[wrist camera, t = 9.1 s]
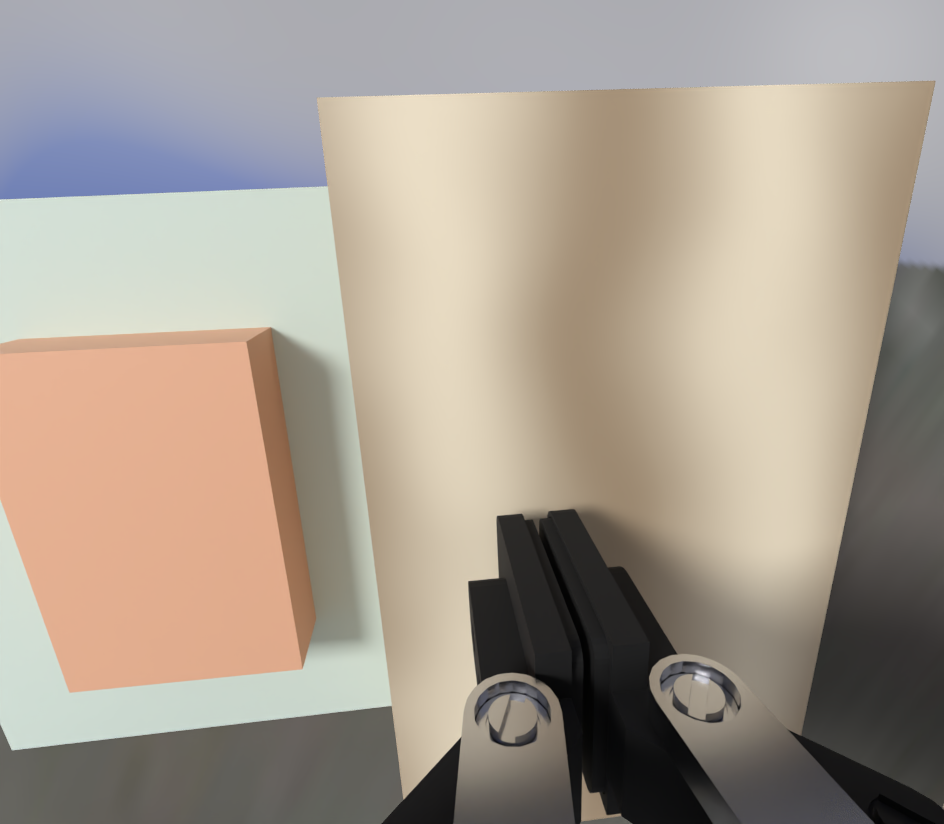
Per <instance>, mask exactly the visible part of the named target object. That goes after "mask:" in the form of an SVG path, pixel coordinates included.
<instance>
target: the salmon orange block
mask: <svg viewBox="0 0 944 824" xmlns="http://www.w3.org/2000/svg"><path fill="white" fill-rule="evenodd" d="M0 500H1V503H2V506H3V508H4V511H5V514H6V517H7V520H8V522H9V525H10V528H11V531H12V534H13V536H14V539H15V542H16V545H17V548H18V550H19V553H20V556H21V559H22V562H23V564H24V567H25V570H26V573H27V576H28V578H29V581H30V584H31V587H32V590H33V592H34V595H35V598H36V601H37V604H38V606H39V609H40V612H41V615H42V618H43V620H44V623H45V626H46V629H47V632H48V634H49V637H50V640H51V643H52V646H53V648H54V651H55V654H56V657H57V660H58V662H59V665H60V668H61V671H62V674H63V676H64V679H65V682H66V685H67V688H68V690H69V693H72V692H82V691H92V690H102V689H112V688H122V687H132V686H142V685H152V684H162V683H172V682H182V681H192V680H202V679H212V678H222V677H232V676H241V675H251V674H261V673H271V672H281V671H291V670H301V669H303V666H304V663H305V659H306V655H307V651H308V648H309V644H310V640H311V637H312V633H313V629H314V625H315V622H316V614H315V608H314V601H313V595H312V588H311V582H310V575H309V569H308V563H307V556H306V550H305V543H304V537H303V530H302V524H301V518H300V511H299V505H298V498H297V492H296V485H295V479H294V473H293V466H292V460H291V453H290V447H289V440H288V434H287V428H286V421H285V415H284V408H283V402H282V396H281V389H280V383H279V376H278V370H277V363H276V357H275V351H274V344H273V338H272V331H271V327H261V328H240V329H219V330H198V331H177V332H156V333H135V334H114V335H93V336H72V337H51V338H30V339H17V340H13V341H9V342H5V343H1V344H0Z"/></svg>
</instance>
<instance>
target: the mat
mask: <svg viewBox="0 0 944 824" xmlns="http://www.w3.org/2000/svg"><path fill="white" fill-rule="evenodd" d="M261 327H271V331H272V338H273V344H274V351H275V357H276V363H277V370H278V376H279V383H280V389H281V396H282V402H283V408H284V415H285V421H286V428H287V434H288V440H289V447H290V453H291V460H292V466H293V473H294V479H295V485H296V492H297V498H298V505H299V511H300V518H301V524H302V530H303V537H304V543H305V550H306V556H307V563H308V569H309V575H310V582H311V588H312V595H313V601H314V608H315V614H316V622H315V625H314V629H313V633H312V637H311V640H310V644H309V648H308V651H307V655H306V659H305V663H304V666H303V669H301V670H291V671H281V672H271V673H261V674H251V675H241V676H232V677H222V678H212V679H202V680H192V681H182V682H172V683H162V684H152V685H142V686H132V687H122V688H112V689H102V690H92V691H82V692H72V693H69V690H68V688H67V685H66V682H65V679H64V676H63V674H62V671H61V668H60V665H59V662H58V660H57V657H56V654H55V651H54V648H53V646H52V643H51V640H50V637H49V634H48V632H47V629H46V626H45V623H44V620H43V618H42V615H41V612H40V609H39V606H38V604H37V601H36V598H35V595H34V592H33V590H32V587H31V584H30V581H29V578H28V576H27V573H26V570H25V567H24V564H23V562H22V559H21V556H20V553H19V550H18V548H17V545H16V542H15V539H14V536H13V534H12V531H11V528H10V525H9V522H8V520H7V517H6V514H5V511H4V508H3V506H2V503H1V500H0V724H1V726H2V729H3V731H4V733H5V735H6V738H7V740H8V742H9V745H10V747H11V749H12V750H18V749H27V748H35V747H44V746H53V745H61V744H70V743H78V742H87V741H95V740H104V739H112V738H121V737H129V736H138V735H146V734H155V733H163V732H172V731H180V730H189V729H197V728H206V727H214V726H223V725H231V724H240V723H248V722H257V721H265V720H274V719H282V718H291V717H299V716H308V715H316V714H325V713H333V712H342V711H351V710H359V709H368V708H376V707H385V706H392V702H391V694H390V686H389V678H388V670H387V662H386V654H385V645H384V637H383V629H382V621H381V613H380V605H379V597H378V589H377V581H376V573H375V565H374V556H373V548H372V540H371V532H370V524H369V516H368V508H367V500H366V492H365V484H364V476H363V467H362V459H361V451H360V443H359V435H358V427H357V419H356V411H355V403H354V395H353V387H352V378H351V370H350V362H349V354H348V346H347V338H346V330H345V322H344V314H343V306H342V298H341V289H340V281H339V273H338V265H337V257H336V249H335V241H334V233H333V225H332V217H331V209H330V201H329V192H328V186H327V187H303V188H279V189H253V190H228V191H205V192H179V193H156V194H129V195H105V196H81V197H56V198H32V199H6V200H0V344H1V343H5V342H9V341H13V340H17V339H30V338H51V337H72V336H93V335H114V334H135V333H156V332H177V331H198V330H219V329H240V328H261Z"/></svg>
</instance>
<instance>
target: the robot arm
mask: <svg viewBox="0 0 944 824" xmlns="http://www.w3.org/2000/svg"><path fill="white" fill-rule="evenodd" d="M496 524H497V548H498V572H499V578H495V579H485V580H474V581H468V592H469V608H470V622H471V634H472V644H473V654H474V663H475V671H476V680H477V686H476V687H475V688H474V689H473V691H472V692H471V693H470V695H469V696H468V698H467V701H466V704H465V708H464V713H463V724H462V735H461V738H460V739H459V740H458V741H457V742H456V743H455V744H454V745H453V746H452V747H451V749H450V750H449V751H448V752H447V753H446V754H445V755H444V756H443V757H442V758H441V759H440V761H439V762H438V763H437V764H436V765H435V766H434V767H433V768H432V769H431V770H430V771H429V773H428V774H427V775H426V776H425V777H424V778H423V779H422V780H421V781H420V782H419V783H418V785H417V786H416V787H415V788H414V789H413V790H412V791H411V792H410V793H409V794H408V795H407V797H406V798H405V799H404V800H403V801H402V802H401V803H400V804H399V805H398V806H397V807H396V809H395V810H394V811H393V812H392V813H391V814H390V815H389V816H388V817H387V818H386V819H385V821H384V822H383V823H382V824H580V822H581V808H582V773H583V776H584V779H585V783H586V786H587V789H588V791H589V793H598V792H599V793H600V796H601V799H602V802H603V806H604V809H605V812H606V815H614V814H621V816H622V817H624V818H625V819H627V820H628V821H630V822H631V823H632V824H944V804H943V807H940V806H939V805H937V804H936V803H935V802H934V801H932V800H931V799H929V798H927V797H925V796H924V795H922V794H920V793H919V792H917V791H915V790H913V789H912V788H910V787H908V786H906V785H903V784H901V783H899V782H897V781H895V780H893V779H891V778H889V777H887V776H885V775H882V774H880V773H878V772H876V771H874V770H872V769H870V768H868V767H866V766H864V765H861V764H859V763H857V762H855V761H853V760H851V759H849V758H847V757H845V756H843V755H840V754H838V753H836V752H834V751H832V750H830V749H828V748H826V747H824V746H822V745H819V744H817V743H815V742H813V741H811V740H809V739H807V738H805V737H803V736H800V735H798V734H796V733H794V732H792V731H790V730H788V729H787V728H786V727H785V726H784V725H783V724H782V723H781V722H780V721H779V720H778V719H777V718H776V717H775V715H774V714H773V713H772V712H771V711H770V710H769V709H768V708H767V707H766V706H765V705H764V704H763V702H762V701H761V700H760V699H759V698H758V697H757V696H756V695H755V694H754V693H753V692H752V691H751V690H750V688H749V687H748V686H747V685H746V684H745V683H744V682H743V681H742V680H741V679H740V678H739V677H738V676H737V675H736V674H734V673H733V672H732V671H731V670H730V669H728V668H727V667H725V666H723V665H721V664H720V663H718V662H716V661H714V660H711V659H708V658H705V657H702V656H698V655H690V654H677V653H676V651H675V649H674V648H673V646H672V644H671V643H670V641H669V639H668V638H667V636H666V635H665V633H664V631H663V630H662V628H661V626H660V625H659V623H658V622H657V620H656V618H655V617H654V615H653V613H652V612H651V610H650V608H649V607H648V605H647V604H646V602H645V600H644V599H643V597H642V595H641V594H640V592H639V591H638V589H637V587H636V586H635V584H634V582H633V581H632V579H631V577H630V576H629V574H628V573H627V571H626V570H625V569H624V568H623V567H621V566H617V567H607V565H606V563H605V562H604V560H603V558H602V556H601V555H600V553H599V551H598V549H597V547H596V546H595V544H594V542H593V540H592V539H591V537H590V535H589V533H588V531H587V530H586V528H585V526H584V524H583V523H582V521H581V519H580V517H579V515H578V514H577V512H576V510H575V509H567V510H556V511H549V512H548V515H547V518H542V519H540V520H539V534H538V531H537V528H536V526H535V523H534V521H533V520H532V519H531V520H525V519H524V516H523V514H511V515H500V516H497V519H496Z"/></svg>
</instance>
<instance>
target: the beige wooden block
mask: <svg viewBox="0 0 944 824" xmlns="http://www.w3.org/2000/svg"><path fill="white" fill-rule="evenodd" d="M934 86H935V81H910V82H872V83H838V84H801V85H800V84H799V85H764V86H728V87H727V86H726V87H694V88H693V87H692V88H691V87H690V88H655V89H619V90H580V91H547V92H546V91H543V92H509V93H471V94H434V95H399V96H362V97H326V98H317V103H318V111H319V120H320V128H321V136H322V144H323V152H324V160H325V168H326V176H327V184H328V192H329V201H330V209H331V217H332V225H333V233H334V241H335V249H336V257H337V265H338V273H339V281H340V289H341V298H342V306H343V314H344V322H345V330H346V338H347V346H348V354H349V362H350V370H351V378H352V387H353V395H354V403H355V411H356V419H357V427H358V435H359V443H360V451H361V459H362V467H363V476H364V484H365V492H366V500H367V508H368V516H369V524H370V532H371V540H372V548H373V556H374V565H375V573H376V581H377V589H378V597H379V605H380V613H381V621H382V629H383V637H384V645H385V654H386V662H387V670H388V678H389V686H390V694H391V702H392V710H393V718H394V726H395V734H396V743H397V751H398V759H399V767H400V775H401V783H402V791H403V799H405V798H406V797H407V795H408V794H409V793H410V792H411V791H412V790H413V789H414V788H415V787H416V786H417V785H418V783H419V782H420V781H421V780H422V779H423V778H424V777H425V776H426V775H427V774H428V773H429V771H430V770H431V769H432V768H433V767H434V766H435V765H436V764H437V763H438V762H439V761H440V759H441V758H442V757H443V756H444V755H445V754H446V753H447V752H448V751H449V750H450V749H451V747H452V746H453V745H454V744H455V743H456V742H457V741H458V740H459V739H460V738H461V735H462V724H463V713H464V708H465V704H466V701H467V698H468V696H469V695H470V693H471V692H472V691H473V689H474V688H475V687H476V686H477V680H476V671H475V663H474V654H473V644H472V634H471V622H470V608H469V592H468V581H474V580H485V579H495V578H499V572H498V548H497V524H496V519H497V516H500V515H511V514H523V516H524V519H525V520H531V519H532V520H533V521H534V523H535V526H536V528H537V531H538V534H539V520H540V519H542V518H547V515H548V512H549V511H556V510H567V509H575V510H576V512H577V514H578V515H579V517H580V519H581V521H582V523H583V524H584V526H585V528H586V530H587V531H588V533H589V535H590V537H591V539H592V540H593V542H594V544H595V546H596V547H597V549H598V551H599V553H600V555H601V556H602V558H603V560H604V562H605V563H606V565H607V567H617V566H621V567H623V568H624V569H625V570H626V571H627V573H628V574H629V576H630V577H631V579H632V581H633V582H634V584H635V586H636V587H637V589H638V591H639V592H640V594H641V595H642V597H643V599H644V600H645V602H646V604H647V605H648V607H649V608H650V610H651V612H652V613H653V615H654V617H655V618H656V620H657V622H658V623H659V625H660V626H661V628H662V630H663V631H664V633H665V635H666V636H667V638H668V639H669V641H670V643H671V644H672V646H673V648H674V649H675V651H676V653H677V654H690V655H698V656H702V657H705V658H708V659H711V660H714V661H716V662H718V663H720V664H721V665H723V666H725V667H727V668H728V669H730V670H731V671H732V672H733V673H734V674H736V675H737V676H738V677H739V678H740V679H741V680H742V681H743V682H744V683H745V684H746V685H747V686H748V687H749V688H750V690H751V691H752V692H753V693H754V694H755V695H756V696H757V697H758V698H759V699H760V700H761V701H762V702H763V704H764V705H765V706H766V707H767V708H768V709H769V710H770V711H771V712H772V713H773V714H774V715H775V717H776V718H777V719H778V720H779V721H780V722H781V723H782V724H783V725H784V726H785V727H786V728H787V729H788V730H790V731H792V732H794V733H796V734H798V735H800V736H801V733H802V728H803V723H804V718H805V713H806V709H807V704H808V699H809V694H810V689H811V684H812V679H813V674H814V670H815V665H816V660H817V655H818V650H819V645H820V640H821V636H822V631H823V626H824V621H825V616H826V611H827V606H828V602H829V597H830V592H831V587H832V582H833V577H834V572H835V568H836V563H837V558H838V553H839V548H840V543H841V538H842V533H843V529H844V524H845V519H846V514H847V509H848V504H849V499H850V495H851V490H852V485H853V480H854V475H855V470H856V465H857V461H858V456H859V451H860V446H861V441H862V436H863V431H864V427H865V422H866V417H867V412H868V407H869V402H870V397H871V392H872V388H873V383H874V378H875V373H876V368H877V363H878V358H879V354H880V349H881V344H882V339H883V334H884V329H885V324H886V320H887V315H888V310H889V305H890V300H891V295H892V290H893V286H894V281H895V276H896V271H897V266H898V261H899V256H900V251H901V247H902V242H903V236H904V232H905V227H906V222H907V217H908V213H909V207H910V203H911V198H912V193H913V188H914V183H915V178H916V173H917V169H918V164H919V158H920V154H921V149H922V144H923V140H924V135H925V130H926V125H927V120H928V115H929V110H930V106H931V101H932V96H933V91H934ZM617 816H621V814H614V815H606V812H605V809H604V806H603V802H602V799H601V796H600V793H599V792H598V793H589V791H588V789H587V786H586V783H585V779H584V776H583V773H582V808H581V821H588V820H595V819H602V818H609V817H617Z"/></svg>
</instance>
